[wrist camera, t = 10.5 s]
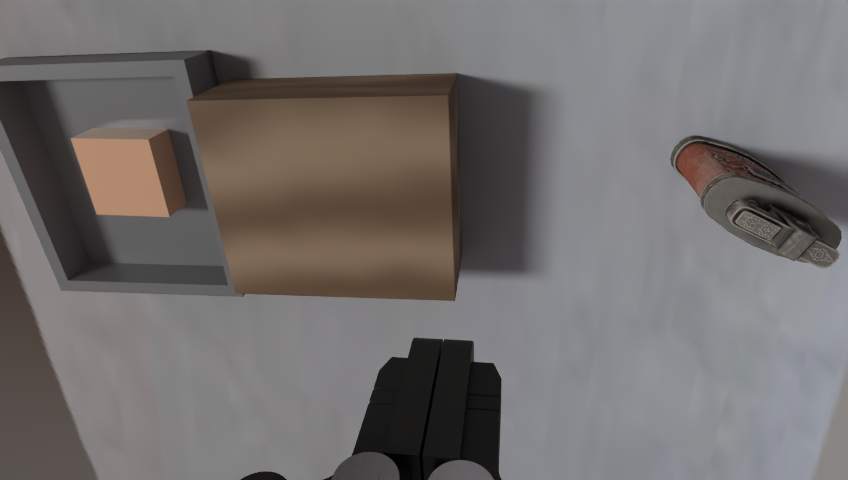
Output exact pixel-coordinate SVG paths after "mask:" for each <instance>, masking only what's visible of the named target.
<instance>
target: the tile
mask: <svg viewBox="0 0 848 480" xmlns="http://www.w3.org/2000/svg"><path fill="white" fill-rule="evenodd" d="M71 141H72V144H73V147H74V150H75V153H76V156H77V159H78V162H79V164H80V167H81V170H82V173H83V176H84V179H85V182H86V185H87V188H88V191H89V194H90V197H91V199H92V202H93V205H94V208H95V211H96V214H97V215H123V216H151V217H170V216H172V215H173V214H174V213H175V212H177V211H178V210H179V209H180V208H182V207H183V206H184V205H185V204H187V202H186V198H185V194H184V191H183V187H182V183H181V179H180V175H179V171H178V167H177V163H176V159H175V155H174V151H173V147H172V144H171V140H170V136H169V132H168V129H128V128H93V129H91V130H88V131H86V132H84V133H82V134H79V135H77V136H75V137H73V138H71Z"/></svg>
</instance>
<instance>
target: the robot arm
mask: <svg viewBox="0 0 848 480" xmlns="http://www.w3.org/2000/svg"><path fill="white" fill-rule="evenodd" d="M500 419H501V377H500V375H499V373H498V371H497V369H496V367H495V365H494V364H493V363H481V362H474V342H473V341H465V340H447V339H445V340H444V342H443V340H442V339H427V338H414V339H413V341H412V344H411V348H410V352H409V356H408V358H398V357H391V359H390V360H389V361H388V362H387V363H386V364H385V365H384V366H383V367H382V368H381V369H380V370H379V373H378V376H377V379H376V382H375V385H374V390H373V392H372V395H371V398H370V403H369V404H368V407H367V410H366V414H365V417H364V420H363V423H362V426H361V429H360V432H359V435H358V439H357V442H356V445H355V448H354V451H353V454H352V456H351V457H349V458H347V459H346V460H345V461H343V462H342V463H341V464H340V465H339V466H338V468H337V469H336V471H335V472H334V474H333V475H332V476H331V477H329V478H326V479H324V480H501V478H500V475H499V447H500ZM241 480H286V479H285V478H284V477H283V476H281V475H280V474H277V473H274V472H257V473H254V474H251V475H248V476H246V477H244V478H242V479H241Z"/></svg>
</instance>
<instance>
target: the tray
mask: <svg viewBox="0 0 848 480" xmlns="http://www.w3.org/2000/svg"><path fill="white" fill-rule="evenodd" d="M216 86H218V83H217V79H216V74H215V70H214V65H213V61H212V56H211V52H210V50H206V51H178V52H150V53H122V54H94V55H66V56H38V57H10V58H3V59H0V149H1V152H2V154H3V156H4V159H5V161H6V163H7V166H8V168H9V170H10V173H11V175H12V177H13V179H14V182H15V184H16V186H17V189H18V191H19V193H20V196H21V198H22V200H23V203H24V205H25V207H26V210H27V212H28V214H29V217H30V219H31V221H32V224H33V226H34V228H35V231H36V233H37V235H38V237H39V240H40V242H41V244H42V247H43V249H44V251H45V254H46V256H47V258H48V261H49V263H50V265H51V268H52V270H53V272H54V275H55V277H56V279H57V282H58V284H59V286H60V288H61V290H63V291H92V292H121V293H151V294H180V295H209V296H238V297H243V296H244V295H245V294H238V293H235V289H234V286H233V282H232V278H231V274H230V270H229V266H228V262H227V258H226V254H225V250H224V246H223V243H222V239H221V235H220V231H219V227H218V223H217V219H216V215H215V211H214V207H213V203H212V200H211V196H210V192H209V188H208V184H207V180H206V176H205V172H204V168H203V164H202V160H201V157H200V153H199V149H198V145H197V141H196V137H195V133H194V129H193V125H192V121H191V117H190V114H189V110H188V106H187V102H186V101H187V100H189V99H191V98H193V97H195V96H197V95H199V94H201V93H204V92H206V91H208V90H210V89H212V88H214V87H216ZM93 128H128V129H168V132H169V136H170V140H171V144H172V147H173V151H174V155H175V159H176V163H177V167H178V171H179V175H180V179H181V183H182V187H183V191H184V194H185V198H186V202H187V204H185V205H184V206H183V207H182V208H180V209H179V210H178V211H177V212H175V213H174V214H173V215H172V216H170V217H151V216H123V215H97V214H96V211H95V208H94V205H93V202H92V199H91V197H90V194H89V191H88V188H87V185H86V182H85V179H84V176H83V173H82V170H81V167H80V164H79V162H78V159H77V156H76V153H75V150H74V147H73V144H72V141H71V138H73V137H75V136H77V135H79V134H82V133H84V132H86V131H88V130H91V129H93Z"/></svg>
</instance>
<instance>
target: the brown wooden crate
mask: <svg viewBox="0 0 848 480" xmlns="http://www.w3.org/2000/svg"><path fill="white" fill-rule="evenodd" d="M186 102H187V106H188V110H189V114H190V117H191V121H192V125H193V129H194V133H195V137H196V141H197V145H198V149H199V153H200V157H201V160H202V164H203V168H204V172H205V176H206V180H207V184H208V188H209V192H210V196H211V200H212V203H213V207H214V211H215V215H216V219H217V223H218V227H219V231H220V235H221V239H222V243H223V246H224V250H225V254H226V258H227V262H228V266H229V270H230V274H231V278H232V282H233V286H234V289H235V293H238V294H268V295H297V296H327V297H357V298H387V299H417V300H447V301H455V297H456V290H457V284H458V278H459V271H460V265H461V258H462V250H461V210H460V171H459V131H458V92H457V73H452V74H415V75H379V76H342V77H305V78H268V79H232V80H228V81H226V82H224V83H222V84H220V85H218V86H216V87H214V88H212V89H210V90H208V91H206V92H204V93H201V94H199V95H197V96H195V97H193V98H191V99H189V100H187V101H186Z"/></svg>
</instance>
